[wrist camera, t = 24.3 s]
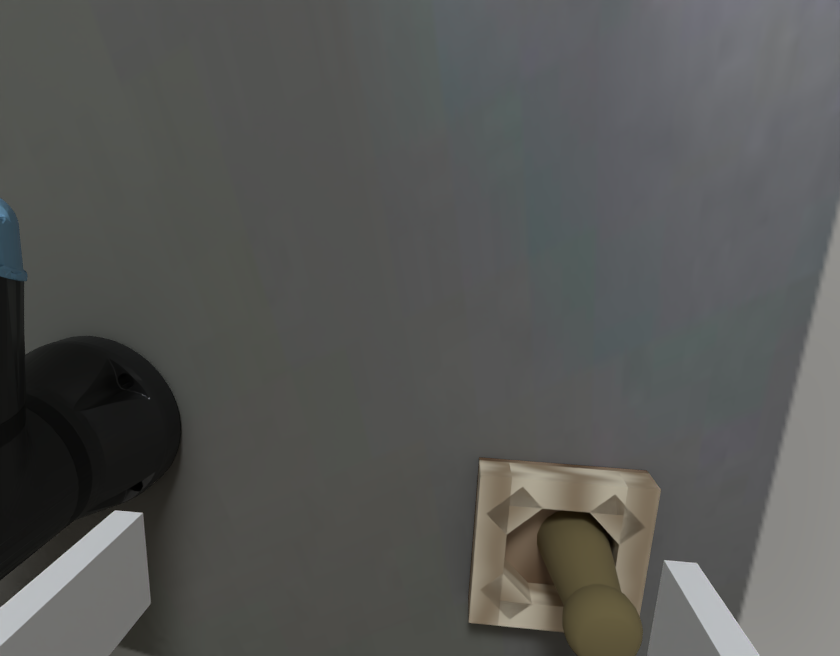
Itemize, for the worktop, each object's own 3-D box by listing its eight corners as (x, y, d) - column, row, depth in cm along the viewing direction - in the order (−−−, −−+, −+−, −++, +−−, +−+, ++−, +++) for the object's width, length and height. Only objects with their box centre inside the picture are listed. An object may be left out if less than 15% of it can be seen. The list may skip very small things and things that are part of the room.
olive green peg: (611, 566, 43) (660, 680, 33) (541, 573, 44) (567, 688, 33) (603, 504, 42) (652, 602, 31) (531, 513, 43) (555, 611, 32)
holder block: (468, 596, 46) (468, 622, 43) (479, 457, 43) (480, 475, 40) (624, 612, 45) (635, 639, 42) (646, 470, 42) (660, 489, 39)
